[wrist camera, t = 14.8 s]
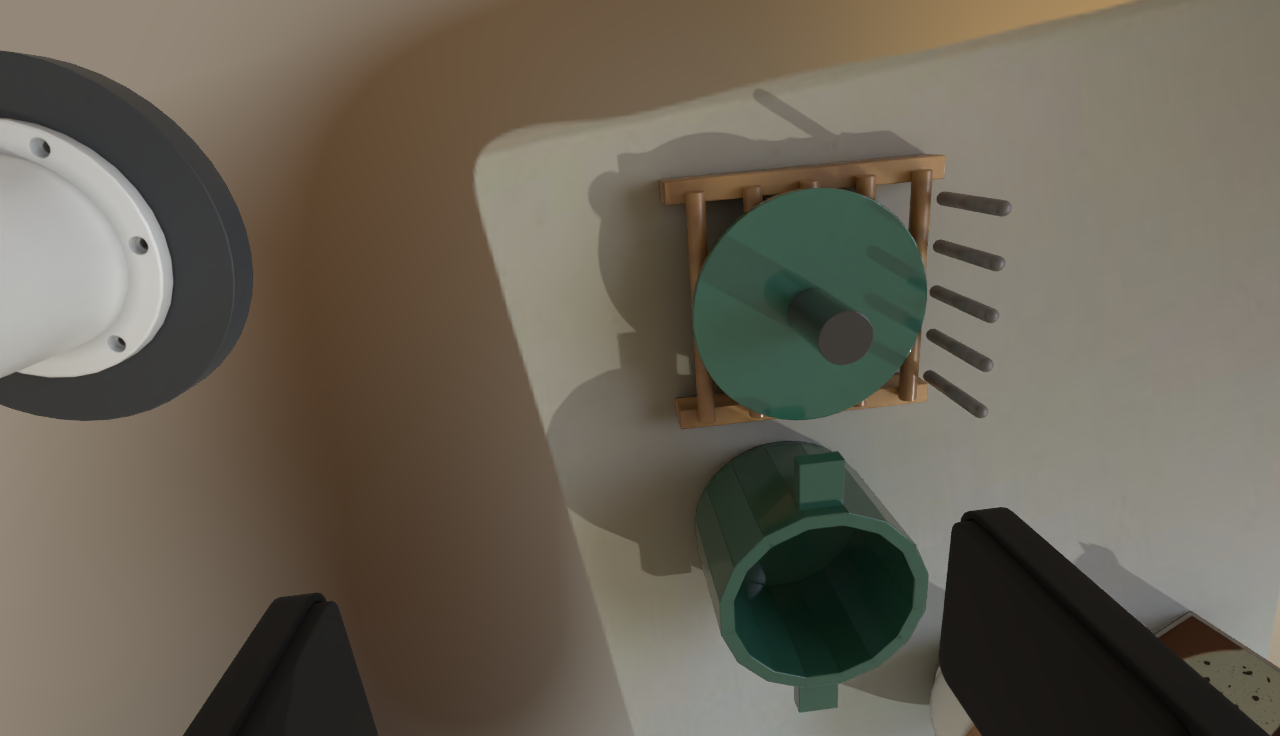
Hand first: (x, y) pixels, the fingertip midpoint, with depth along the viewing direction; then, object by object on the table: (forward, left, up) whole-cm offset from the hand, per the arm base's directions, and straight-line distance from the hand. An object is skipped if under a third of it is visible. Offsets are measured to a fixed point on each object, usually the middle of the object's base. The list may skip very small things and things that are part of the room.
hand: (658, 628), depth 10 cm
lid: (+11, -3, -25) cm, 27 cm away
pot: (+10, -18, -28) cm, 35 cm away
